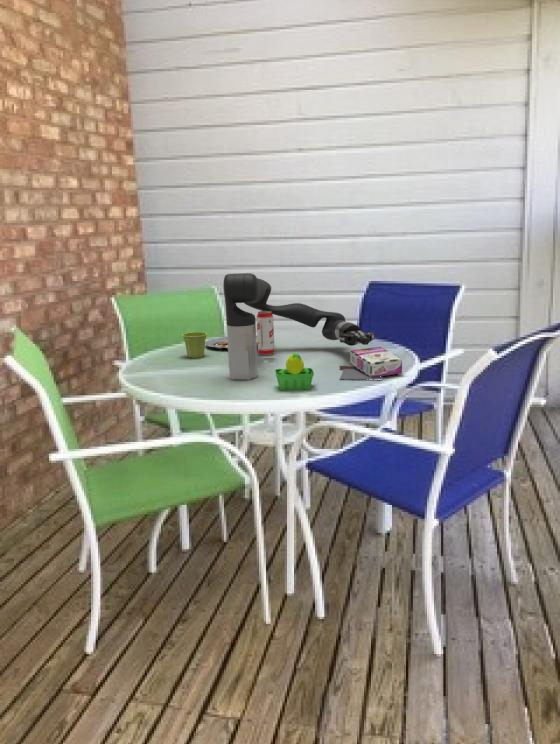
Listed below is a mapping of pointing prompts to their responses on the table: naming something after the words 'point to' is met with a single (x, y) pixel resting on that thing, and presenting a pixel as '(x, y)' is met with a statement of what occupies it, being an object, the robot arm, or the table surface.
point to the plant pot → (195, 343)
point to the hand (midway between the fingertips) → (366, 341)
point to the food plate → (221, 342)
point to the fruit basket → (294, 374)
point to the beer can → (265, 333)
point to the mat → (355, 375)
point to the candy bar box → (376, 362)
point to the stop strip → (347, 367)
